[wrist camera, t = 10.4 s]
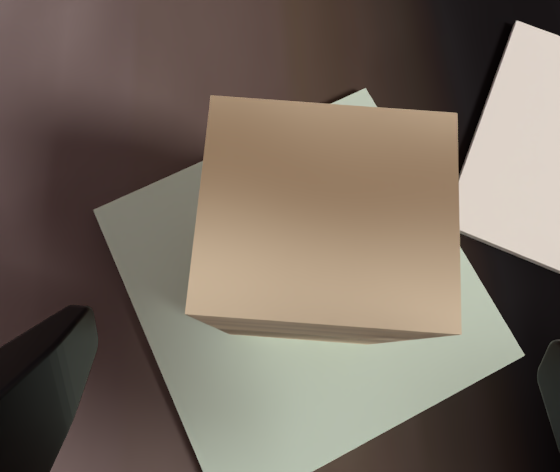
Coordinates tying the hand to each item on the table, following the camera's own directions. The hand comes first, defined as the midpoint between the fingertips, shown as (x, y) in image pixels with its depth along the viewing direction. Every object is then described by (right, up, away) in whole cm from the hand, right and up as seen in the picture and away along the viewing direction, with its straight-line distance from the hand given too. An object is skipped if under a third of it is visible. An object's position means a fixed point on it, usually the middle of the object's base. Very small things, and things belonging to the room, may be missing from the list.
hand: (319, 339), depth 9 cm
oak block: (0, 0, +8) cm, 8 cm away
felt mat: (0, 0, +9) cm, 9 cm away
